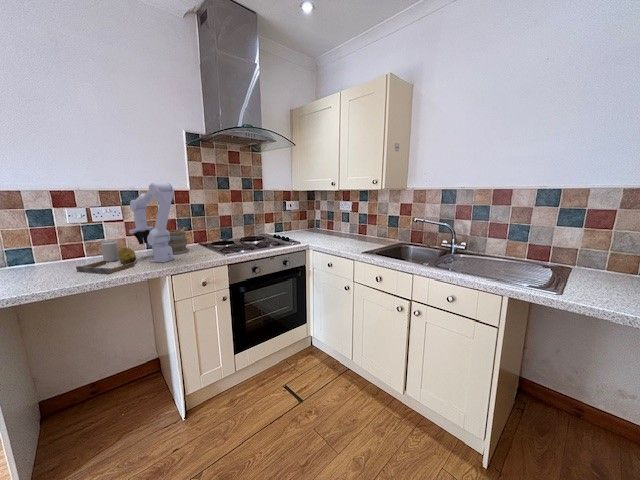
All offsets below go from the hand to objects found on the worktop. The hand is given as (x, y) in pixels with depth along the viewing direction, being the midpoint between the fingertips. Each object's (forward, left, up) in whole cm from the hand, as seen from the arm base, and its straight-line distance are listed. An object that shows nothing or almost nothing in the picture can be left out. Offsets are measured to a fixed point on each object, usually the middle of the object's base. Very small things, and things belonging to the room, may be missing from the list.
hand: (143, 243), depth 157 cm
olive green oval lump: (0, +12, -9) cm, 14 cm away
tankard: (-9, -18, -9) cm, 22 cm away
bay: (0, +23, -8) cm, 25 cm away
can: (+13, +10, -9) cm, 19 cm away
